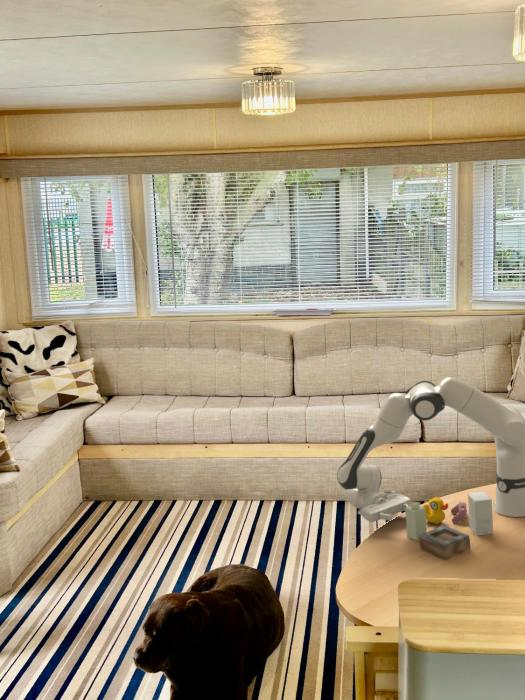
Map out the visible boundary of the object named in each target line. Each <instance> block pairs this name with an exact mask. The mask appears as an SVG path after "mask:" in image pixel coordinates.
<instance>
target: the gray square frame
mask: <svg viewBox="0 0 525 700" xmlns="http://www.w3.org/2000/svg"><path fill="white" fill-rule="evenodd" d="M419 539H420V540H419V549H420V550H422V551H424V552H426V553H427V554H431V555H433V556H434V557H436V558H439V559H441V558H442V559H441V560H443V559H444V561H447V560H449V559H452V558H454V557H457V556H458V555H461V554H463V553H465V552H467V550H468V551H469V550H471V539H470V535H469V534H467V533H464V532H462V531H459V530H457V529H455V528H452V527H450V526H447V525H445V524H441V525H440V526H439V527H437V528H434V529H432V530H428V531H427V532H426V533H422V534H420V538H419ZM462 552H463V553H462Z"/></svg>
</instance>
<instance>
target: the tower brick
mask: <svg viewBox="0 0 525 700" xmlns="http://www.w3.org/2000/svg"><path fill="white" fill-rule="evenodd" d="M422 506H423V505H422ZM422 506H421V505H420V504H419V503H418V502H411V506H409V507H406V508H405V510H404V511H405V522H406V536H407V538H409V539H413V540H414V541H420V539H419V538H420V534H422V533H426V532H428V531H427V520H426V511H425V508H424V507H422Z"/></svg>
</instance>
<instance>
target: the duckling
mask: <svg viewBox="0 0 525 700" xmlns="http://www.w3.org/2000/svg"><path fill="white" fill-rule="evenodd" d="M422 507H424V508H425V511H426V521H428V522H429V523H432V524H435V525H438V524H440V523H442V522H443V521H444V520H445V519H446V514H445V512H444V511H447V510H448V508H449V503H444V501H443V499H442V498H440V497H437V496H436V497H433V498H432V499H429V500H428V503H424V504H422Z"/></svg>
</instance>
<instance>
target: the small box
mask: <svg viewBox="0 0 525 700" xmlns="http://www.w3.org/2000/svg"><path fill="white" fill-rule="evenodd" d="M467 498H468V499H467V500H468V502H467V503H468V520H469V523H468V524H469V528H470V529H471V530H472V532H473V533H474V534H475V536H483V535H492V534H494V526H493V525H494V521H493V504H492V503H493V499H492V498H491V497H490V496H489V495H488V494H487V492H485V491H479V492H469V493H467Z"/></svg>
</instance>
